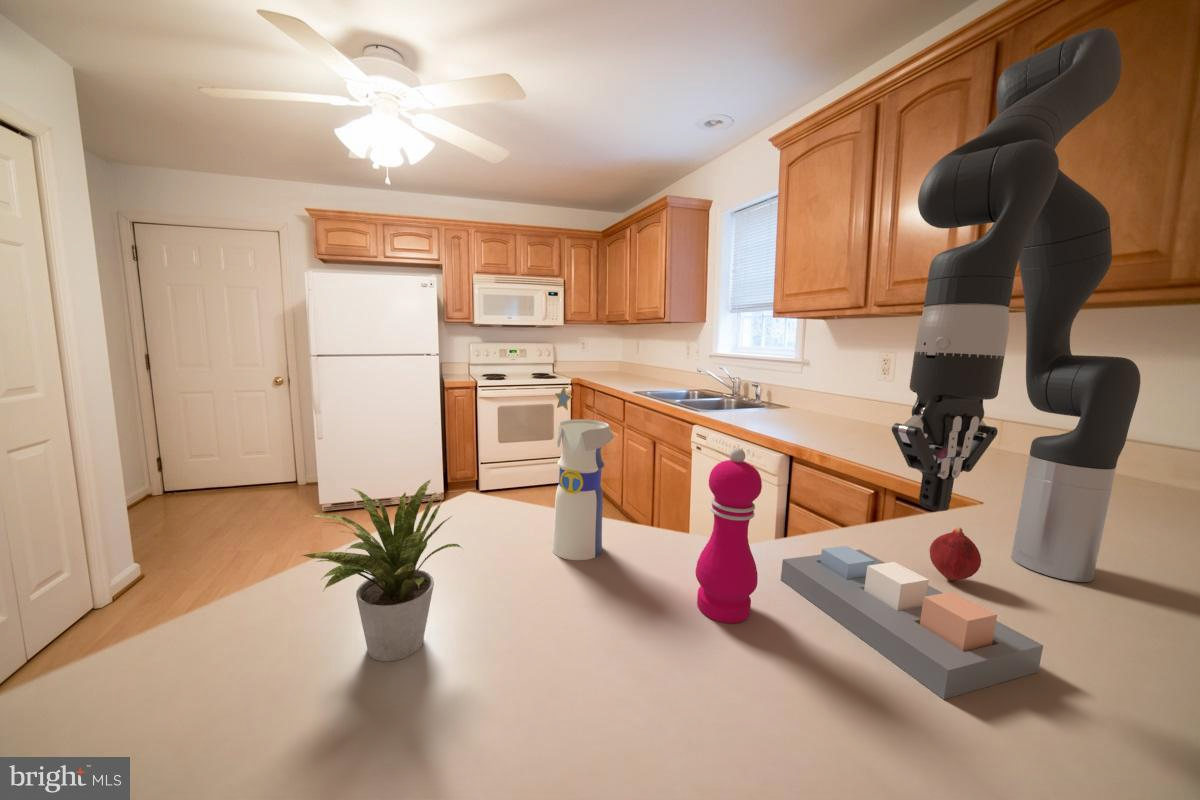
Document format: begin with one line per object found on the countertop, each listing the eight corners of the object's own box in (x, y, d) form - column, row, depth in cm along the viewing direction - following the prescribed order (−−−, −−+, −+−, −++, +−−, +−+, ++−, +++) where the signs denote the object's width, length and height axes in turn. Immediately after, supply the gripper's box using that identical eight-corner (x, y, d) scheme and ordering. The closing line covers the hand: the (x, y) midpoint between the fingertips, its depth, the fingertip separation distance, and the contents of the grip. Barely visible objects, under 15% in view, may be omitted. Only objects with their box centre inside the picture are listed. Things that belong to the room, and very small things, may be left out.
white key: (889, 591, 58) (893, 561, 57) (923, 611, 53) (928, 579, 53) (863, 596, 56) (867, 565, 56) (896, 617, 52) (901, 584, 52)
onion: (986, 594, 62) (995, 538, 61) (938, 587, 63) (947, 533, 62) (961, 573, 68) (970, 522, 67) (918, 568, 69) (926, 517, 68)
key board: (857, 568, 68) (859, 549, 67) (1038, 671, 47) (1043, 645, 47) (780, 579, 63) (782, 559, 63) (943, 699, 42) (948, 670, 42)
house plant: (358, 596, 54) (356, 462, 52) (477, 598, 55) (480, 466, 53) (282, 687, 40) (275, 507, 38) (443, 688, 41) (445, 512, 38)
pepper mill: (754, 599, 58) (770, 445, 55) (753, 633, 51) (772, 459, 48) (696, 587, 60) (709, 438, 57) (688, 617, 53) (703, 450, 51)
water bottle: (594, 567, 64) (604, 390, 61) (540, 554, 67) (546, 385, 63) (613, 544, 71) (622, 386, 68) (563, 533, 74) (570, 381, 71)
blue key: (843, 572, 64) (846, 545, 64) (870, 589, 60) (874, 560, 60) (818, 576, 63) (821, 548, 62) (844, 593, 59) (848, 564, 58)
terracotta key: (946, 624, 51) (952, 591, 50) (990, 650, 47) (997, 614, 46) (918, 630, 50) (923, 596, 49) (961, 658, 45) (967, 620, 45)
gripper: (965, 352, 53) (942, 494, 56) (878, 346, 50) (857, 499, 52) (1042, 355, 46) (1013, 518, 49) (948, 348, 42) (921, 526, 45)
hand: (933, 508), depth 50 cm, fingers closed
